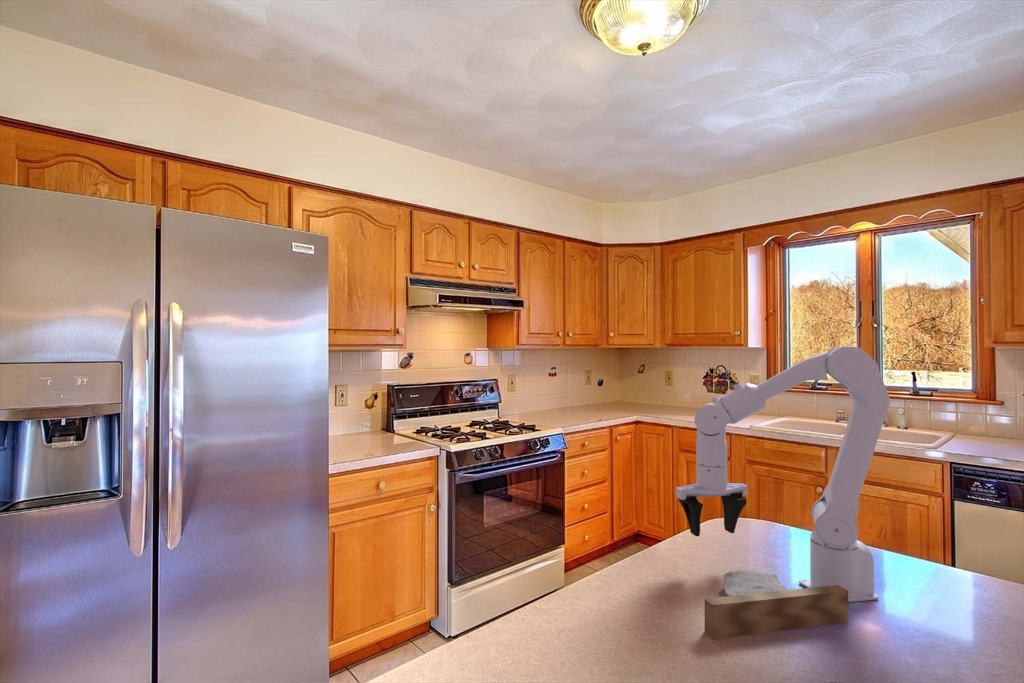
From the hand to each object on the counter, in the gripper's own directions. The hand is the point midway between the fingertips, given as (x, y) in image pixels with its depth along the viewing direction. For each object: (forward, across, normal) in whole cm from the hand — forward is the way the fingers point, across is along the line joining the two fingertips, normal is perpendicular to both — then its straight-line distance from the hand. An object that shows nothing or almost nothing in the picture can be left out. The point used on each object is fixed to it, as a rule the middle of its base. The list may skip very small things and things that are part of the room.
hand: (712, 532), depth 99 cm
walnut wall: (+7, +2, +21) cm, 22 cm away
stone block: (+8, +1, +13) cm, 15 cm away
